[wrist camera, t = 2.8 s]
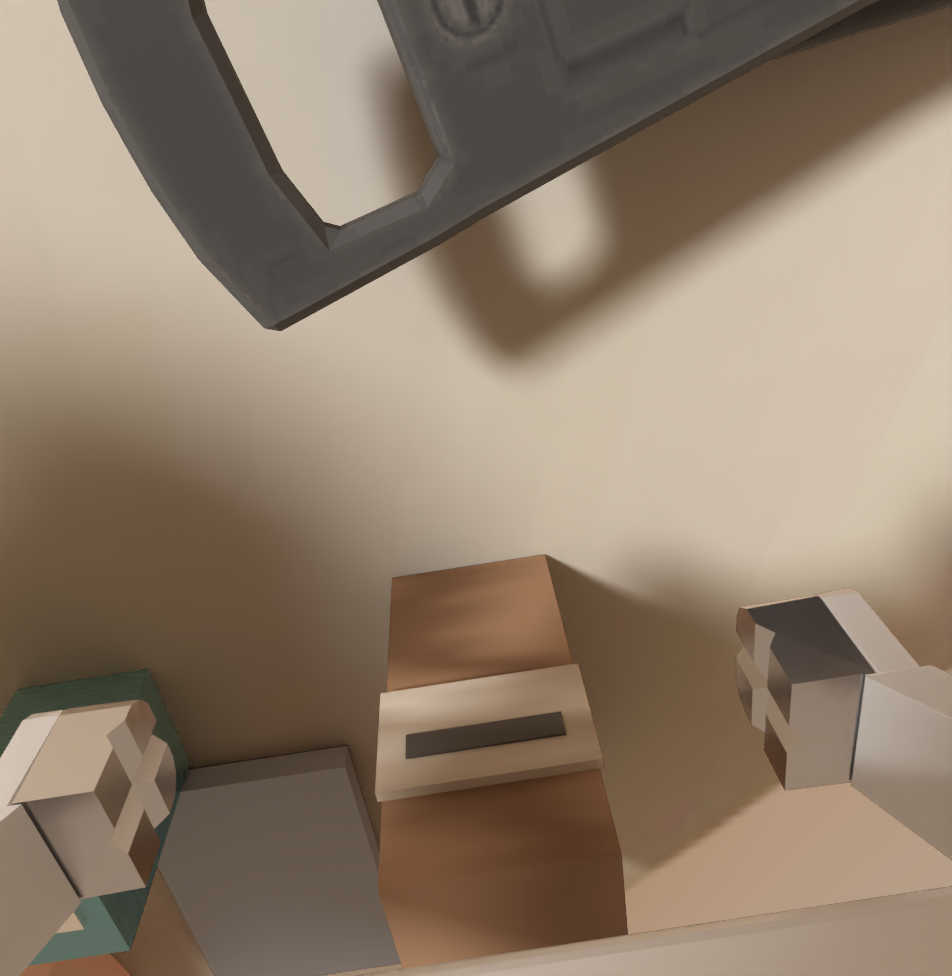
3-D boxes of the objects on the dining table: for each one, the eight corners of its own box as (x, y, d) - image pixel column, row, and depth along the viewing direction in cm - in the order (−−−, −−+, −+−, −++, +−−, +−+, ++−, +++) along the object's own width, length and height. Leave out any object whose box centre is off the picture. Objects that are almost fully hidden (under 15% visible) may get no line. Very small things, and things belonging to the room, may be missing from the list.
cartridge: (69, 780, 29) (-25, 978, 23) (17, 688, 27) (-102, 880, 21) (190, 761, 29) (128, 955, 23) (148, 669, 27) (68, 855, 21)
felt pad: (226, 967, 35) (221, 990, 34) (131, 778, 29) (123, 800, 29) (406, 940, 35) (406, 962, 34) (347, 745, 29) (345, 767, 28)
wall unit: (435, 777, 30) (444, 1114, 21) (386, 569, 26) (369, 879, 16) (571, 756, 30) (643, 1084, 21) (547, 544, 26) (625, 841, 16)
